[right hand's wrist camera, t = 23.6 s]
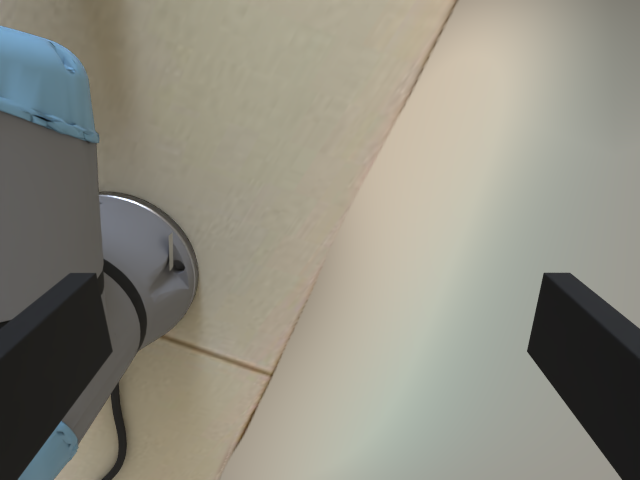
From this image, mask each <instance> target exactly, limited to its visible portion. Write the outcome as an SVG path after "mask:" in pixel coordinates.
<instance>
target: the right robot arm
mask: <svg viewBox="0 0 640 480" xmlns="http://www.w3.org/2000/svg"><path fill="white" fill-rule="evenodd" d="M96 143H99V134H98V133H97V132H96V131H95V126H94V118H93V111H92V103H91V96H90V87H89V79H88V76H87V73H86V71H85V68H84V67H83V65H82V63H81V62H80V61H79V59H78V58H77V57H76V56H75V55H74V54H73V53H72V52H71V51H69V50H68V49H67V48H65V47H63V46H62V45H60V44H58V43H56V42H54V41H51V40H48V39H45V38H42V37H39V36H35V35H32V34H29V33H25V32H21V31H18V30H14V29H11V28H7V27H3V26H0V480H54V479H55V477H56V476H57V475H58V474H59V472H60V471H61V470H62V469H63V467H64V466H65V465H66V464H67V462H69V461H70V460H71V459H72V457H73V456H74V455H75V453H76V452H77V449H78V444H79V443H80V441H81V440H82V438H83V437H84V435H85V433H86V432H87V430H88V429H89V427H90V426H91V424H92V422H93V421H94V419H95V418H96V416H97V415H98V413H99V412H100V410H101V408H102V407H103V405H104V404H105V402H106V401H107V399H108V398H109V396H110V394H111V402H112V409H113V415H114V420H115V424H116V429H117V434H118V441H119V452H118V458H117V461H116V463H115V465H114V467H113V468H112V470H111V471H110V472H109V473H108V474H107V475H106V476H105V477H104V478H103V479H102V480H112V479H113V478H114V477H115V475H116V474H117V473H118V472H119V470H120V469H121V467H122V465H123V462H124V459H125V455H126V445H127V442H126V433H125V427H124V422H123V418H122V413H121V407H120V398H119V380H120V379H121V377H122V376H123V374H124V373H125V371H126V369H127V368H128V366H129V365H130V363H131V362H132V360H133V358H134V357H135V355H136V354H137V352H138V351H139V350H140V349H142V348H144V347H145V346H147V345H148V344H150V343H152V342H153V341H155V340H156V339H158V338H159V337H161V336H163V335H164V334H166V333H167V332H168V331H170V330H171V329H172V328H173V327H174V326H175V325H176V324H177V323H178V322H179V321H180V320H181V319H182V317H183V316H184V315H185V313H186V312H187V310H188V308H189V306H190V305H191V303H192V301H193V299H194V296H195V294H196V290H197V286H198V265H197V260H196V256H195V253H194V250H193V248H192V246H191V244H190V242H189V240H188V238H187V236H186V235H185V233H184V232H183V231H182V229H181V228H180V227H179V226H178V225H177V224H176V222H175V221H174V220H173V219H171V218H170V217H169V216H168V215H167V214H166V213H164V212H163V211H162V210H160V209H159V208H157V207H156V206H154V205H152V204H150V203H149V202H147V201H144V200H142V199H140V198H137V197H134V196H131V195H127V194H123V193H116V192H99V188H98V167H97V146H96ZM527 352H528V353H529V355H530V356H531V357H532V359H533V360H534V361H535V363H536V364H537V365H538V367H539V368H540V369H541V371H542V372H543V373H544V375H545V376H546V378H547V379H548V380H549V382H550V383H551V384H552V386H553V387H554V388H555V390H556V391H557V392H558V394H559V395H560V396H561V398H562V399H563V400H564V402H565V403H566V404H567V406H568V407H569V409H570V410H571V411H572V413H573V414H574V415H575V417H576V418H577V419H578V421H579V422H580V423H581V425H582V426H583V427H584V429H585V430H586V431H587V433H588V434H589V435H590V437H591V438H592V440H593V441H594V442H595V444H596V445H597V446H598V448H599V449H600V450H601V452H602V453H603V454H604V456H605V457H606V458H607V460H608V461H609V462H610V464H611V465H612V466H613V468H614V469H615V471H616V472H617V473H618V475H619V476H620V477H621V479H622V480H640V329H639V328H638V327H637V326H636V325H634V324H633V323H632V322H631V321H629V320H628V319H627V318H626V317H624V316H623V315H622V314H621V313H619V312H618V311H617V310H616V309H614V308H613V307H612V306H611V305H609V304H608V303H607V302H606V301H604V300H603V299H602V298H601V297H599V296H598V295H597V294H596V293H594V292H593V291H592V290H591V289H589V288H588V287H587V286H586V285H584V284H583V283H582V282H581V281H579V280H578V279H577V278H576V277H574V276H573V275H572V274H571V273H544V274H543V279H542V284H541V288H540V293H539V298H538V303H537V307H536V312H535V317H534V321H533V326H532V331H531V335H530V340H529V345H528V350H527Z"/></svg>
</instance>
